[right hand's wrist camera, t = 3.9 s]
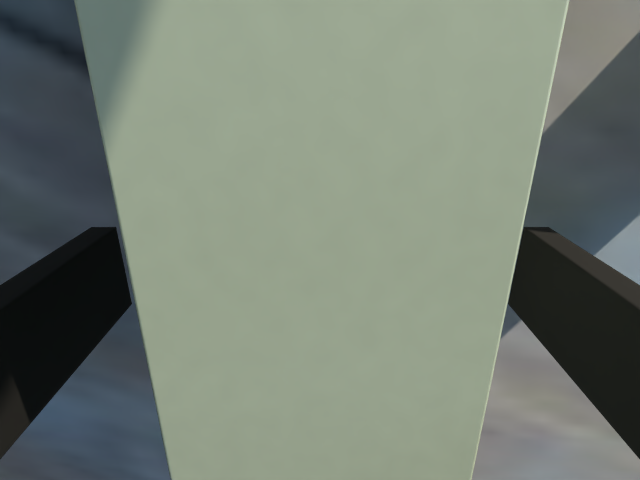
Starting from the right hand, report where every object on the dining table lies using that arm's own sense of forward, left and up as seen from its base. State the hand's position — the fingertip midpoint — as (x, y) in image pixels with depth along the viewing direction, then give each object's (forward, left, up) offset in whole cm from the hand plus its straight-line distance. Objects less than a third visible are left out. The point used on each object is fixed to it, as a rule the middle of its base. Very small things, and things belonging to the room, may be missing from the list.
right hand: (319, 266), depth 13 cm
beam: (+9, 0, -2) cm, 9 cm away
